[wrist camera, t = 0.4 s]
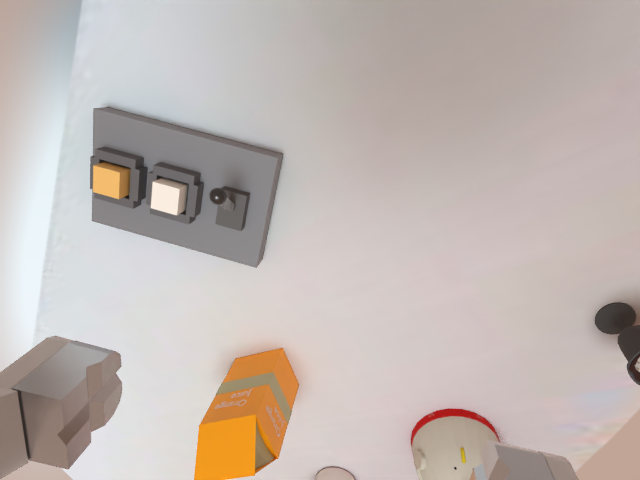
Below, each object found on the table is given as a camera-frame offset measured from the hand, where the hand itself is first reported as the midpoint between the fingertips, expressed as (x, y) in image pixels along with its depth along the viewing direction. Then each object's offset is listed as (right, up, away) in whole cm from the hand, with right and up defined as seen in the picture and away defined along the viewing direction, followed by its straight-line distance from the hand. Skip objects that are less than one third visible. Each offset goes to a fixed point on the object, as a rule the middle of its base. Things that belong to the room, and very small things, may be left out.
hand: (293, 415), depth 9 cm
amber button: (-26, +12, +45) cm, 54 cm away
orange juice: (-8, -18, +59) cm, 62 cm away
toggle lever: (-11, +8, +43) cm, 46 cm away
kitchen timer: (+23, -30, +58) cm, 69 cm away
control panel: (-18, +11, +49) cm, 53 cm away
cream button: (-19, +10, +45) cm, 50 cm away
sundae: (+41, -7, +47) cm, 62 cm away
